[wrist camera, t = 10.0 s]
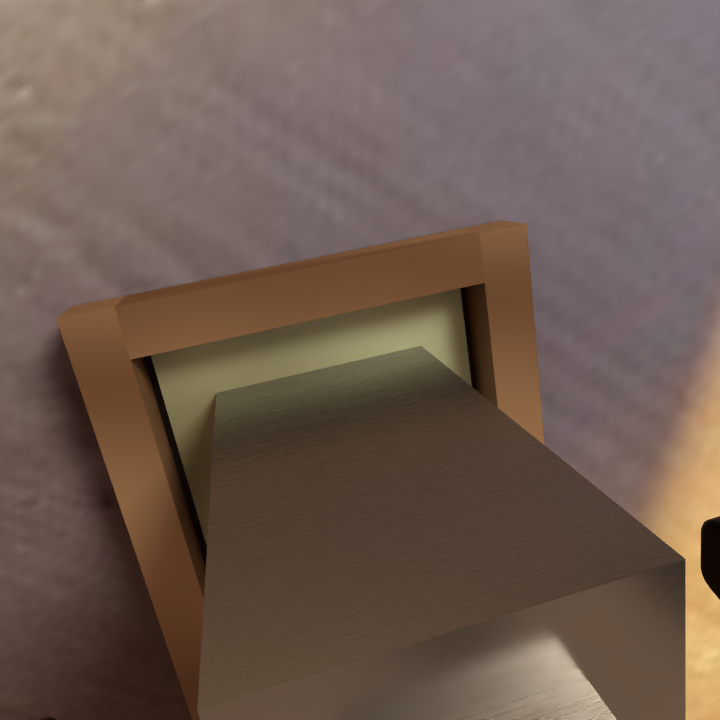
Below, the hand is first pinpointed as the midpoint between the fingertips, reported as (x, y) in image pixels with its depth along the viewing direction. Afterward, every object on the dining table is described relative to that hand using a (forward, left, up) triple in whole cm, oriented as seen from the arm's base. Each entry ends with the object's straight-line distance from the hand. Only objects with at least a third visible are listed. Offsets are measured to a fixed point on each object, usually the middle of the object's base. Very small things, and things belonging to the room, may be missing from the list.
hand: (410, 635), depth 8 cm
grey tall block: (0, 0, -6) cm, 6 cm away
